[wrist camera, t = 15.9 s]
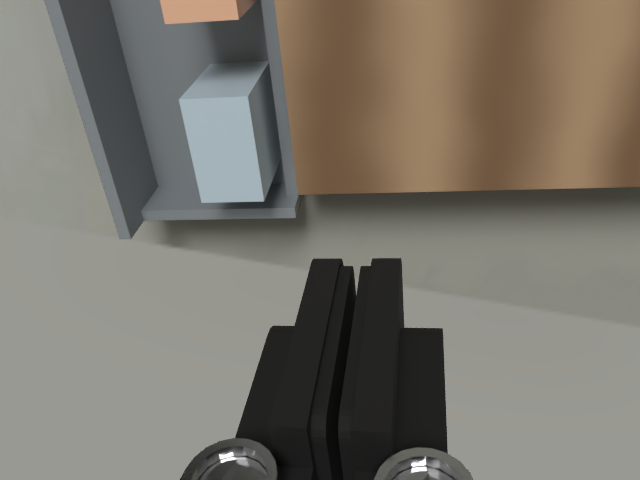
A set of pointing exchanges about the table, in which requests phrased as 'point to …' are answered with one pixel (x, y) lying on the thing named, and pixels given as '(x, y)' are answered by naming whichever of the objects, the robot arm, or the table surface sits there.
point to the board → (461, 94)
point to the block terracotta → (203, 10)
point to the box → (162, 103)
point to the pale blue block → (232, 131)
